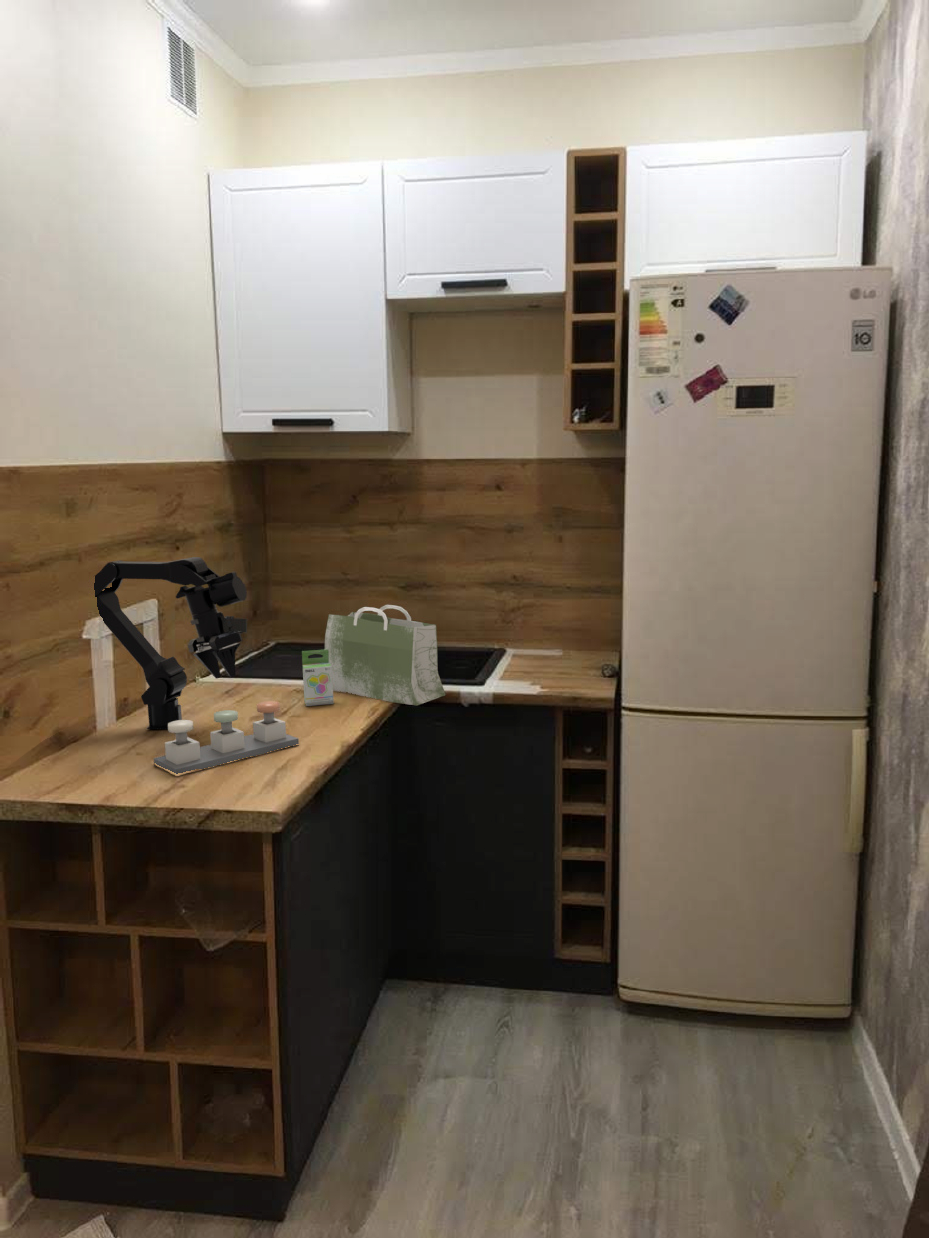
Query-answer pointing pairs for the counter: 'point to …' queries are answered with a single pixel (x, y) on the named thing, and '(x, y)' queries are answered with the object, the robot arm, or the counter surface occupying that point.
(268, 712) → the terracotta button
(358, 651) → the grocery bag
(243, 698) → the counter surface
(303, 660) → the ink box
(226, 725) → the sage button
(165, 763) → the console
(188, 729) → the cream button
